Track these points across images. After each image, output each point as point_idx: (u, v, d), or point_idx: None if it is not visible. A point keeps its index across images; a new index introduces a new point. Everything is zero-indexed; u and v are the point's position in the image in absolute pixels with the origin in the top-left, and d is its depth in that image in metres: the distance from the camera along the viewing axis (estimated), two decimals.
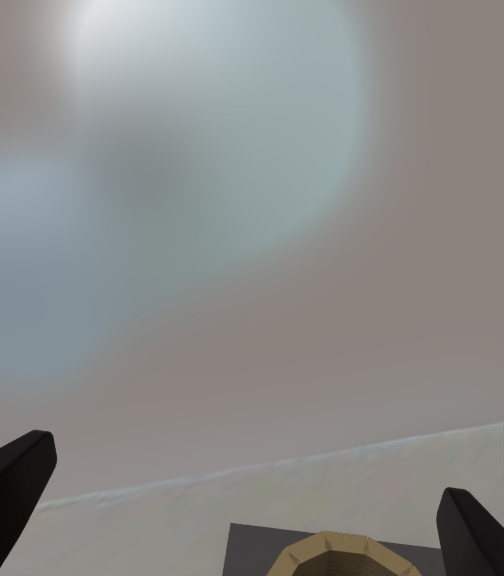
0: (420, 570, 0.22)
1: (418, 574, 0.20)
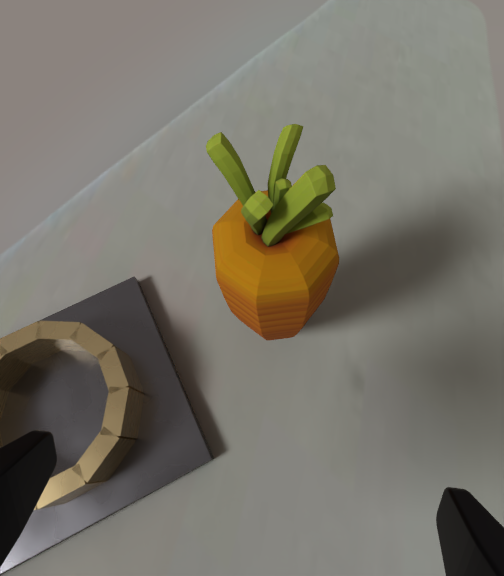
0: (112, 308, 0.25)
1: (86, 328, 0.21)
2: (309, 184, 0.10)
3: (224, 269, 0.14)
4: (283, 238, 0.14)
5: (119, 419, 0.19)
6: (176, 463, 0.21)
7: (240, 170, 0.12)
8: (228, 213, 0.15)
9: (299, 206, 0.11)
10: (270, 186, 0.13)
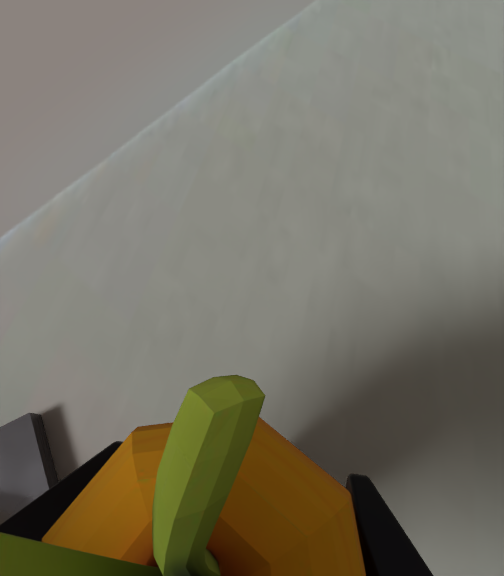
0: None
1: None
2: None
3: None
4: None
5: None
6: None
7: None
8: (77, 515, 0.05)
9: None
10: (156, 561, 0.04)
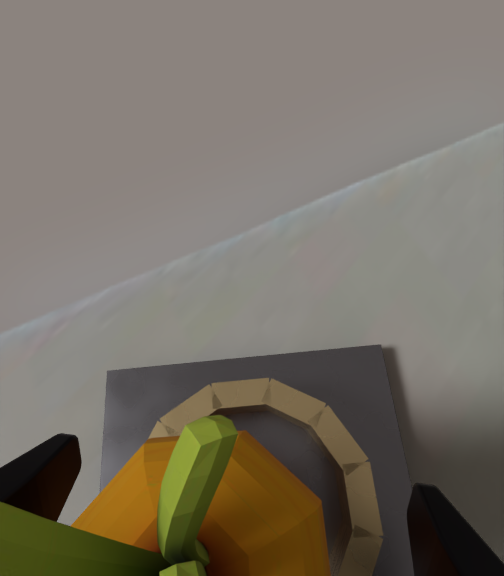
0: (344, 378, 0.18)
1: (332, 416, 0.15)
2: None
3: None
4: None
5: None
6: None
7: None
8: (98, 509, 0.07)
9: None
10: (159, 547, 0.05)
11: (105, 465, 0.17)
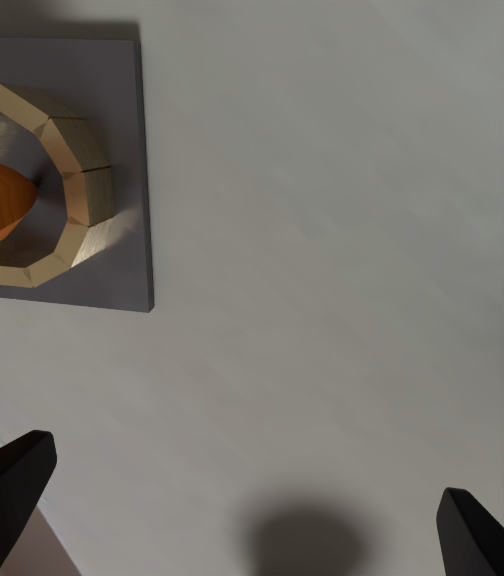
0: None
1: None
2: None
3: None
4: None
5: (31, 109, 0.16)
6: (121, 85, 0.18)
7: None
8: None
9: None
10: None
11: (17, 296, 0.23)
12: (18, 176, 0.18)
